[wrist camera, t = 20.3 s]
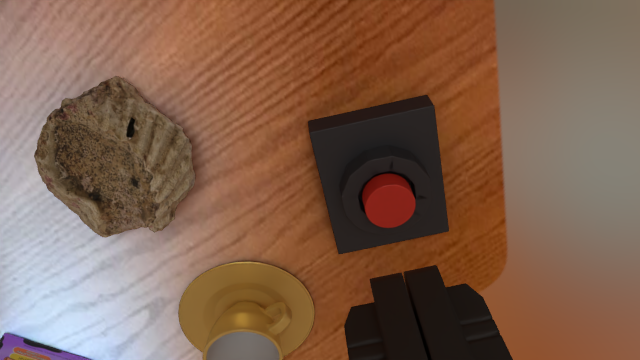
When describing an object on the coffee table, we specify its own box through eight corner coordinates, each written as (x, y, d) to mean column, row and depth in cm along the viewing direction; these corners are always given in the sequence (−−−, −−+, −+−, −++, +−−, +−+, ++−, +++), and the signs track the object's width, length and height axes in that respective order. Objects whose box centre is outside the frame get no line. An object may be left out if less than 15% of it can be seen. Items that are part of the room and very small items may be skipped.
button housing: (307, 120, 41) (310, 143, 38) (427, 94, 41) (440, 114, 38) (336, 239, 47) (340, 268, 43) (442, 216, 46) (455, 244, 43)
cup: (244, 379, 54) (241, 428, 49) (150, 310, 49) (136, 356, 44) (341, 315, 51) (347, 360, 46) (250, 234, 46) (247, 275, 41)
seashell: (154, 58, 41) (9, 93, 38) (177, 69, 35) (8, 112, 32) (193, 193, 46) (66, 236, 42) (219, 223, 40) (74, 277, 36)
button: (357, 178, 40) (361, 191, 38) (407, 168, 40) (412, 179, 38) (366, 219, 42) (369, 232, 40) (413, 209, 42) (418, 222, 40)
